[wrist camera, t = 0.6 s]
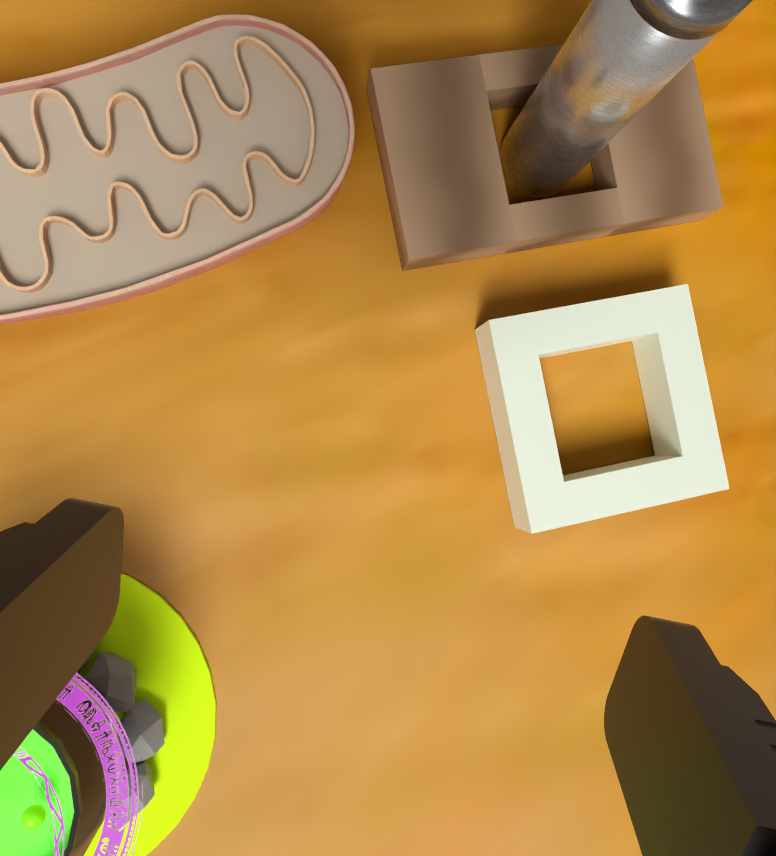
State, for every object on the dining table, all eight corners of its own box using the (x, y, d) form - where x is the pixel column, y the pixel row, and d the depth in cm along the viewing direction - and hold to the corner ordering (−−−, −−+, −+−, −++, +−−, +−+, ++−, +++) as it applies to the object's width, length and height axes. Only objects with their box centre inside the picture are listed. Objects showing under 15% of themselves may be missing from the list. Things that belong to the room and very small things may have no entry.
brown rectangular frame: (402, 270, 32) (408, 258, 30) (366, 91, 32) (370, 68, 30) (699, 220, 34) (723, 206, 32) (665, 52, 34) (687, 28, 32)
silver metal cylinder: (491, 124, 33) (625, -111, 19) (567, 113, 34) (752, -124, 20) (507, 203, 33) (653, 26, 19) (583, 191, 34) (780, 10, 20)
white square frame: (474, 329, 33) (488, 320, 30) (659, 295, 34) (687, 283, 31) (514, 527, 33) (531, 533, 30) (698, 485, 34) (729, 488, 31)
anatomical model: (314, 61, 32) (315, -10, 27) (376, 253, 32) (389, 218, 27) (-177, 181, 29) (-275, 127, 24) (-107, 393, 29) (-191, 382, 24)
